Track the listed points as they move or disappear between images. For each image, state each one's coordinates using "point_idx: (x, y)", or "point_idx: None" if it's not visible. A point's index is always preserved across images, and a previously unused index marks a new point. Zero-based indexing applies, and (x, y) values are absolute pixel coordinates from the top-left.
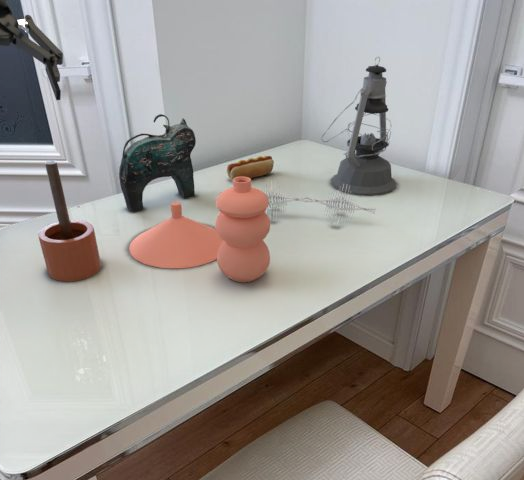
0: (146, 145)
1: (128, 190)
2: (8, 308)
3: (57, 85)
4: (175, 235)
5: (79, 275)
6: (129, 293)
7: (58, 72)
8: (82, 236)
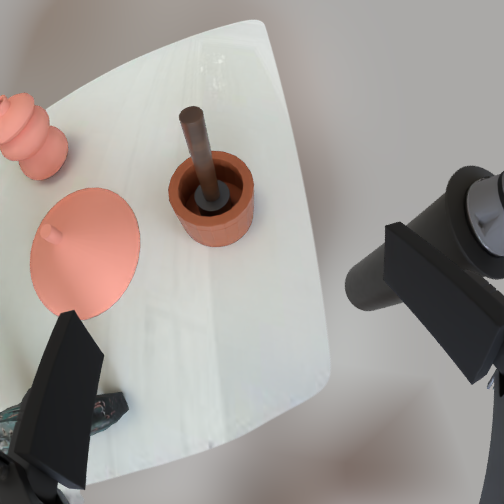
0: None
1: (105, 395)
2: (292, 143)
3: (55, 331)
4: (75, 214)
5: None
6: (161, 145)
7: (22, 408)
8: (187, 164)
